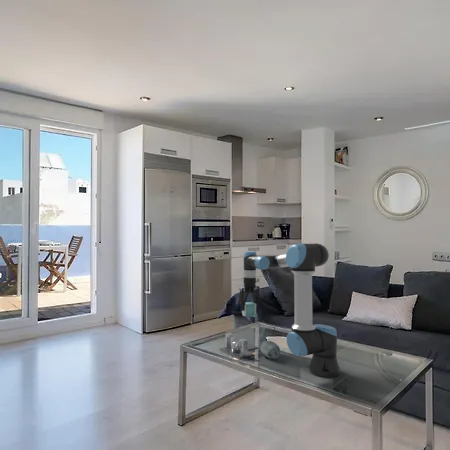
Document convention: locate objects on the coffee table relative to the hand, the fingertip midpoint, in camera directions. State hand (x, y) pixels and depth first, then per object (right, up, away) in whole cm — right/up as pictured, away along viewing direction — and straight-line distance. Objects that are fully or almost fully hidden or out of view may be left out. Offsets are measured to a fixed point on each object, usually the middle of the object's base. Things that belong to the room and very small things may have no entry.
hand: (249, 314), depth 228 cm
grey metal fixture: (-8, -19, -10) cm, 23 cm away
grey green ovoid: (+11, -20, -16) cm, 28 cm away
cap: (0, 0, 0) cm, 0 cm away
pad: (0, -20, 0) cm, 20 cm away
